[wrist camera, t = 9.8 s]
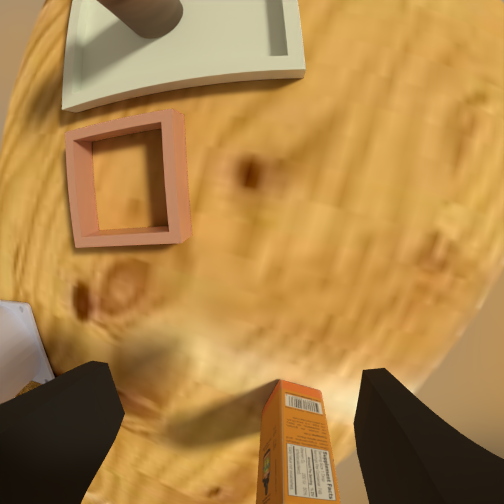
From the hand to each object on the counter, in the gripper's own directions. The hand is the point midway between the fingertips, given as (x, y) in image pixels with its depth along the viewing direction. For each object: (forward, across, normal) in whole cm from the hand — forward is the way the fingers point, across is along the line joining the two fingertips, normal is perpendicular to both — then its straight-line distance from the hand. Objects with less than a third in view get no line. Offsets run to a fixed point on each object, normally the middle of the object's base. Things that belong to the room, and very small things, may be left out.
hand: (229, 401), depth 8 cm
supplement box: (+11, -2, +9) cm, 14 cm away
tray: (+10, +4, -16) cm, 20 cm away
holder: (+10, +7, -6) cm, 14 cm away
